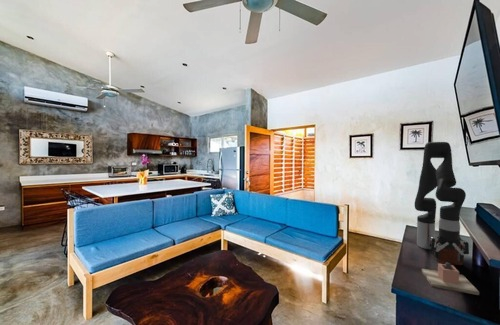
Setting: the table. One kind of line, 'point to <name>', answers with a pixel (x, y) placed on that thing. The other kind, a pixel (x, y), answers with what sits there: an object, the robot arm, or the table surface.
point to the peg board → (437, 282)
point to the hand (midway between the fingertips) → (448, 259)
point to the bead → (448, 274)
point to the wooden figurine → (450, 255)
